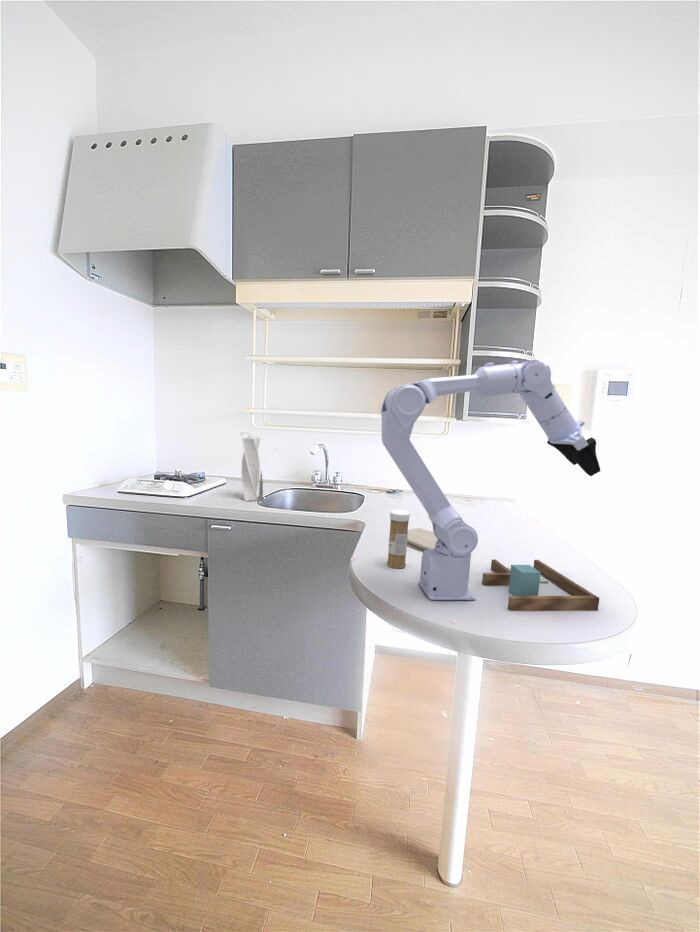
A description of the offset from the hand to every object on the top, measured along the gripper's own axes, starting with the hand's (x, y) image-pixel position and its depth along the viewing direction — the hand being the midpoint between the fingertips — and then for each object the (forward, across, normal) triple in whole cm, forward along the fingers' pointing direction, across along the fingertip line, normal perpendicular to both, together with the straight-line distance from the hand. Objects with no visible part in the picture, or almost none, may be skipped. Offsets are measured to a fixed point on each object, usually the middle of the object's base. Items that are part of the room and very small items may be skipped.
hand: (586, 467), depth 77 cm
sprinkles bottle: (-1, +1, +46) cm, 47 cm away
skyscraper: (-31, +57, +101) cm, 120 cm away
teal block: (+14, -9, +25) cm, 30 cm away
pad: (+17, +2, +23) cm, 29 cm away
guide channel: (+15, -4, +24) cm, 29 cm away
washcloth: (+6, +19, +43) cm, 47 cm away
